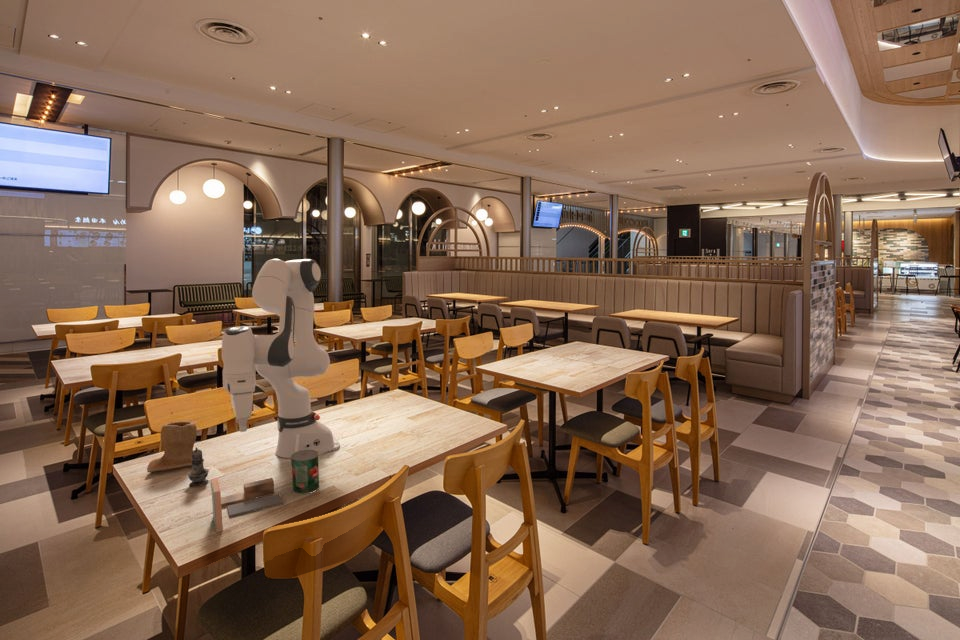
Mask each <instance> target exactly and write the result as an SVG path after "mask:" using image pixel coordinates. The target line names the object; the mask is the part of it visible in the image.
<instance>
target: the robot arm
mask: <svg viewBox="0 0 960 640" xmlns="http://www.w3.org/2000/svg"><path fill="white" fill-rule="evenodd" d="M321 279H322V270H321V268H320V265H319V264H318V262H317V261H316V260H314V259H311V258H303V259H291V260H286V261H284V260H282V259H279V258H272V259H271V258H270V259H268V260H266V261H265V263H264V264H263V265H262V266H261V268H260V270H259V271H258V273H257V276H256V278H255V281H254V283H253V286H252V289H251V291H252V293H251V297H252V300H253V302H254V303H255V304H256V305H257V306H258V307H259V308H260V309H262V310H264V311H266V312H268V313H272V314H274V315H277V316H279V323H278V325H279V327H278V332H277V333H275V334H254V333H253V330H252V328H251V327H249V326H246V325H238V326H232V327H228V328H226V329H225V330H224V331H223V333H222V341H221V360H222V362H223V368H222V371H221V372H222V373H221V374H222V388H223V390H225V391H227V393H228V395H230V403H231V407H232V409H233V412H234V414H235V419H236V420H235V421H236V423H237V424H238V425H239V432H240V433H244V432H247V430H248V429H247V424H248V420H250V419H251V418H252V413H253V398H254V396H253V395H254V394H253V393H254V392H255V391H256V386H257V379H256V378H257V377H256V374H257V373H258V375H260V376H261V377H262V378H264V379H265V380H266V381H268V383H269V384H270V385H271V387H272V388H273V390H274V392H275V394H276V400H277V408H278V414H277V424H276V425H277V431H278V439H277V446H276V450H275V455H276V456H278V457H280V458H283V459H291V456H292V454H294V453H295V452H298V451H302V450H315V451H317V452H318V454H319V455H322V454H321V453H323V454H325V453H324V452H326V453H328V452H327V451H329V452H332V451H331V450H333V451H336V450H338V449H339V448H340V447H339V446H341V445H340V441H339V440H338V439H337V438H336V437H334V435H333V432H332V431H331V429H330V427H328V426H327V425H326V424H324V423H322V422H320V419H321V415H319V414H318V413H316V412H315V411H313V410H311V408H312V407H311V393H310V391H309V390H308V389H307V387H304V386H302V385H300V384H298V383H297V382H296V380H295V379H294V378H313V377H318V376H323V375H324V374H326V372H328V370H329V368H330V365H331V359H330V355H329V353H328V352H327V351H326V350H325V349H324V348H323V347H322V346H321V345H320V344H318V342H317V341H316V339H315V336H314V320H315V319H314V317H315V298H314V293H313V292H314V291H315V290H316V289H317V286H319V284H320V282H321ZM256 372H257V373H256ZM335 449H336V450H335Z"/></svg>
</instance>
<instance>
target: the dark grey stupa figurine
mask: <svg viewBox="0 0 960 640" xmlns="http://www.w3.org/2000/svg"><path fill="white" fill-rule="evenodd" d="M204 461H205V459H204V458H203V451H202V450H201V449H198V447H195V449H193V452H192V461H191V463H192V465H191V471H189V472H188V473H187V477H188V479H189V481H191V482H190V483H189V485H188V486H189V487H190V488H200V487H203V486H205V485H207V484H208V483H209V480H208V479H206V478H208V475H209V472H210V470H209V469H207V468H205V467H204Z"/></svg>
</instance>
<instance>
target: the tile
mask: <svg viewBox="0 0 960 640" xmlns="http://www.w3.org/2000/svg"><path fill="white" fill-rule="evenodd" d="M210 486H211V489H210V490H211V503H212V517H213V523H214V527H215V531H216V532H217V531H218V532H220V531H223V530H224V528H223V512H222V511H223V509H222V507H221V497H222V496H221V488H220V484H219V479H218V477H213V478H211V479H210Z"/></svg>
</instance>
